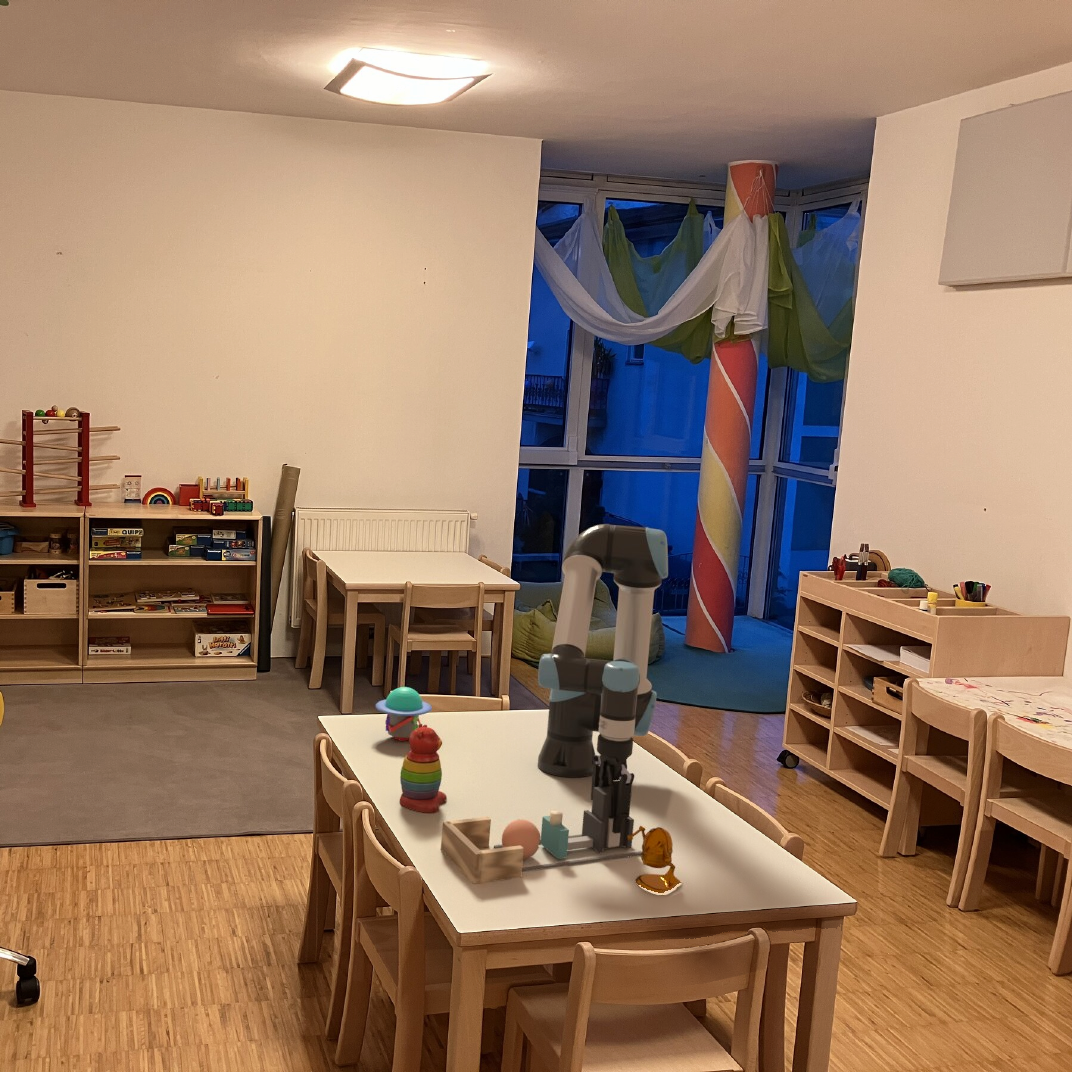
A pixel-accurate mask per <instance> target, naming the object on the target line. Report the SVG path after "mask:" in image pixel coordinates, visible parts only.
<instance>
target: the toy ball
mask: <svg viewBox="0 0 1072 1072" xmlns="http://www.w3.org/2000/svg"><path fill="white" fill-rule="evenodd" d="M540 840H541V832H540V831H539V828H538V827H537V826H536V825H535V824H534V823H533V822H531V821H529V820H527V819H516V820H514V821H512V822H510V823H508V824H507V826H506V827H505V828H504V829H503V832H502V835H501V843H502V844H501V845H503V847H511V846H519V845H521V846H522V847H523V848H524V851H523V860H527V859H530V858H531V857H533V856H534V855H535V854H536V852H537V851H538V850H539V849H540V847H539V845H540V844H539V843H540Z"/></svg>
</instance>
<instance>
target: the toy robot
mask: <svg viewBox="0 0 1072 1072" xmlns="http://www.w3.org/2000/svg"><path fill="white" fill-rule="evenodd" d="M375 709H376V710H378V711H380V712H381V713H385V714H386V719H385V731H386V732H387V733H388V734H387V735H389V736H392V737H393V738H394V737H395V738H394V739H395V740H396V741H402V742H405V741H409V738H410V735H411V733H412V732H413V731H414V730H415V729H417V728H420V727H422V726H423V723H421V720H420V717H419V716H422V715H425V714H428V713H430V712H431V711H432V710H433V707H432V706H431V704H430V703H429V702H427V701H426V702H425V701H423V699H422V697H421V695H420V693H418V691H416V690H415V689H413V688H411V687H407V686H401V687H398V688H395V689H393V690H392V691H391V692H390V693H389V694H388V695H387V697H386V699H383V700H379V701H378V702H376V703H375Z"/></svg>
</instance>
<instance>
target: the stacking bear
mask: <svg viewBox="0 0 1072 1072" xmlns="http://www.w3.org/2000/svg"><path fill="white" fill-rule="evenodd" d="M408 742H409V748H410V750H409V751H408V752H407V753H406V755H405V756H404V758H403V762H402V766H401V769H400V777H399V778H400V785H401V792H402V793H401V795H400V797H399V803H400V805H401V806H402V807H405V808H406V809H409V810H413V811H416V812H421V813H426V814H434V813H437V812H439V809H440V808H439V807H440V806H439V804H442V803H446V802H447V799H448V797H447V794H446V793H444V792H442V791H440V786H441V784H442V777H443V771H442V767H441V766H442V765H441V764H442V763H441V760H440V755H439V753H438V751H439V750H440V748H441V747H442V746H443V741H442V739H441V738H440V736H439V735H438V734H437V731H435V730H434V729H433V728H431V727H428V725H427V724H424V725H423V724H422V727H420V728H417V729H415V730H414V731H413V732H412V733H411V735H410V737H409V738H408Z"/></svg>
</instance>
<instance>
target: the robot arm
mask: <svg viewBox="0 0 1072 1072" xmlns="http://www.w3.org/2000/svg"><path fill="white" fill-rule="evenodd" d="M668 551H669V549H668V538H667V535H666V533H665V531H663V530H662V529H656V528H652V527H651V528H650V527H648V526H646V527H645V526H644V527H643V526H631V525H618V524H617V525H615V524H610V523H604V524H597V525H593V526H591V527H589V528H587V529H586V530H584V531H582V532H581V533H580V534H578V535H577V536H576V537H575V539H573V541H572V542H571V543H570V545H569V546H568V548H567V550H566V551H565V554H564V556H563V561H562V565H561V570H562V573H563V574H564V578H563V584H562V591H561V597H560V600H559V601H560V602H559V607H558V613H557V619H556V624H555V629H554V635H553V641H552V647H551V651H550V653H543V654H542V655H541V656H540V659H539V663H538V669H537V670H538V673H537V682H538V685H539V686H540V687H541V688H544V689H550V693H549V697H548V701H549V704H548V705H549V707H548V718H547V719H548V720H547V731H546V737H545V739H544V742H543V744H542V746H541V749H540V752H539V754H538V757H537V767H538V768H539V769H540V771H543V772H544V773H547V774H550V775H552V776H558V777H565V778H583V777H588V776H592V779H591V789H590V800H591V801H592V800H593V788H594V787H608V786H611V794H612V795H611V815H610V816H609V822H608V833H607V844H606V846H607V847H614V848H616V847H615V846H619V842H620V832H621V825H622V818H628V817H629V816H630V811H631V810H630V808H631V801H632V789H633V788H632V787H633V784H634V780H635V773H632V772H631V773H630V772H629V771H628V764H627V763H628V762H627V760H628V758H629V757H631V756H632V755H633V747H634V738H633V737H634V736H635V737H644V736H646V735H648V733H649V731H650V729H651V725H652V720H653V717H654V711H655V706H656V703H657V695H658V693H657V692H656V691H655V690H652V688H653V685H652V683H651V681H649V679H648V678H647V675H648V662H649V655H650V654H649V651H650V642H651V630H652V618H653V611H654V610H653V607H654V596H655V590H656V589H657V588H659V587H660V586H661V585H662V579H663V580H665V579H666V578H668V576H669V554H668ZM603 573H609V574H610V573H611V574H613V582H614V583H615V584H616V585H617V586H618V599H617V600H618V601H617V611H616V621H615V623H616V624H615V633H614V634H615V635H614V636H615V637H614V645H613V646H614V648H613V649H614V651H613V658H612V659H613V660H607V659H605V660H604V659H596V658H595V659H594V658H587V657H586V650H587V643H588V637H589V631H590V625H591V619H592V611H593V604H594V598H595V593H596V584H597V581H598V580H599V579H601V576H602V574H603ZM594 732H596V733H599V735H597V739H596V740H597V743H596V751H595V747H594V743H593V736H594V735H593V734H594ZM596 752H597V753H598V754H596Z"/></svg>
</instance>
